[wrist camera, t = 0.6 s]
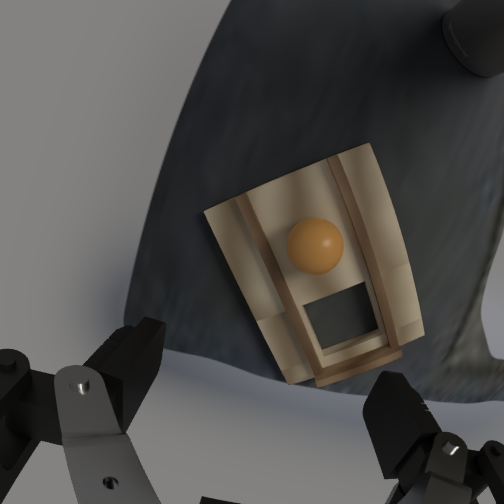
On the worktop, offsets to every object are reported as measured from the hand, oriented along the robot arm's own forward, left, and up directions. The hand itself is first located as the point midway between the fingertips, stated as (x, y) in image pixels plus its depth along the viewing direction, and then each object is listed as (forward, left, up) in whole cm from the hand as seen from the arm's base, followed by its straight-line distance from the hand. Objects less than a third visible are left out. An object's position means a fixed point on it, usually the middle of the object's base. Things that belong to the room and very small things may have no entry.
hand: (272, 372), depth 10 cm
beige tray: (-3, +6, -21) cm, 22 cm away
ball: (-3, +1, -17) cm, 18 cm away
